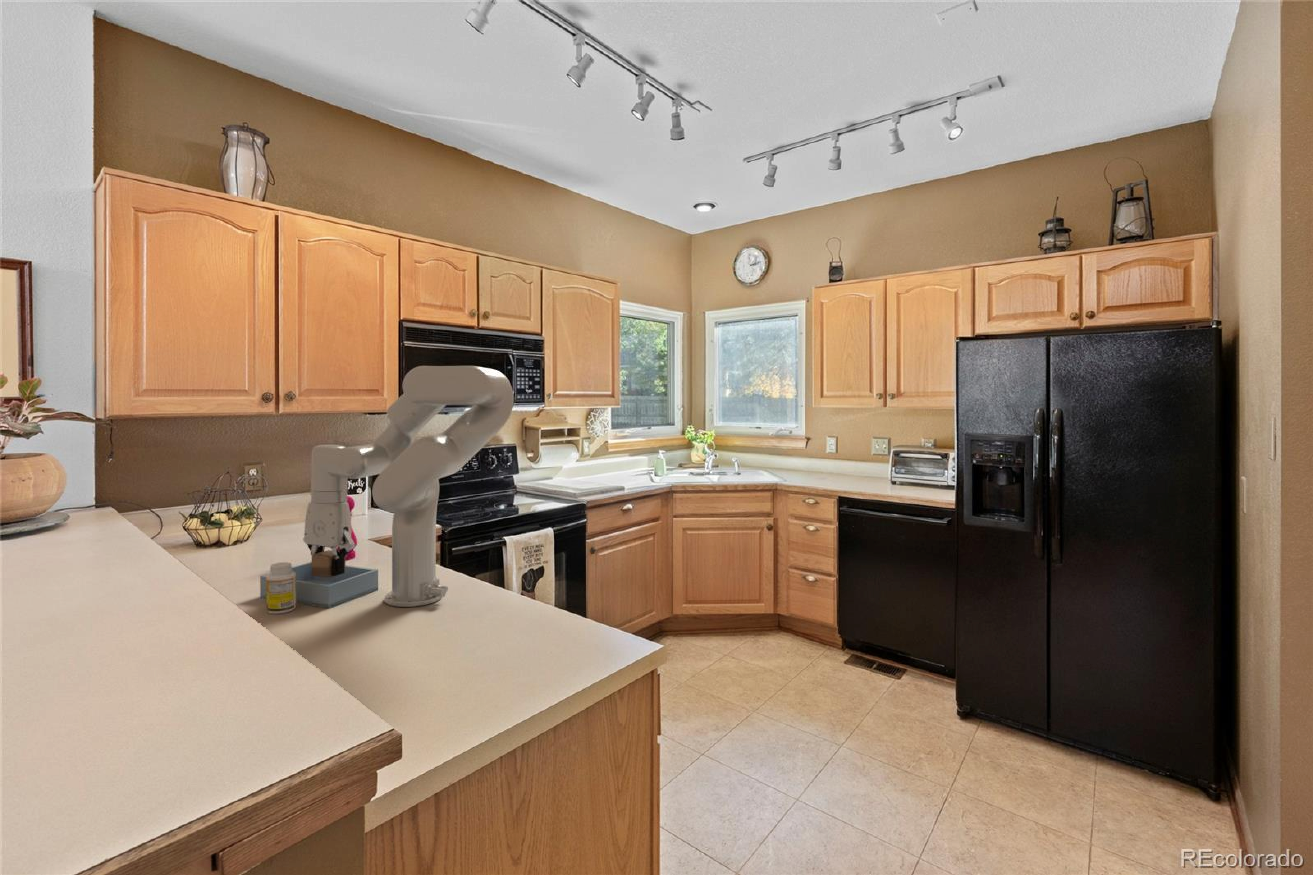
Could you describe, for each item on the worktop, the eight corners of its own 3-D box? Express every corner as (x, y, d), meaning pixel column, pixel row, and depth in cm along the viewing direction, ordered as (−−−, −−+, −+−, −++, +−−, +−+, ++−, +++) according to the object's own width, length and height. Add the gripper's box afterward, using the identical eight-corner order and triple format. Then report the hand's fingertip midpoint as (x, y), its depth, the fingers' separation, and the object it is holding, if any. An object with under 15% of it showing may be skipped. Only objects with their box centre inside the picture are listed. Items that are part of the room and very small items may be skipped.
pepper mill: (336, 562, 171) (336, 493, 170) (324, 558, 175) (324, 490, 174) (361, 557, 177) (361, 490, 176) (349, 553, 181) (349, 487, 180)
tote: (378, 589, 148) (378, 569, 147) (328, 608, 134) (328, 586, 133) (313, 580, 154) (313, 561, 154) (260, 597, 140) (260, 576, 140)
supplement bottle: (277, 605, 135) (276, 560, 134) (301, 606, 135) (301, 561, 134) (260, 614, 129) (259, 567, 128) (286, 615, 129) (285, 568, 128)
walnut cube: (327, 578, 140) (328, 557, 139) (311, 575, 141) (311, 554, 141) (345, 572, 144) (345, 552, 144) (329, 570, 146) (329, 549, 146)
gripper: (287, 496, 141) (287, 572, 142) (344, 502, 135) (343, 582, 136) (315, 492, 148) (314, 564, 149) (370, 498, 143) (369, 573, 144)
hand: (328, 572), depth 143 cm, fingers closed on walnut cube, 5 cm apart
